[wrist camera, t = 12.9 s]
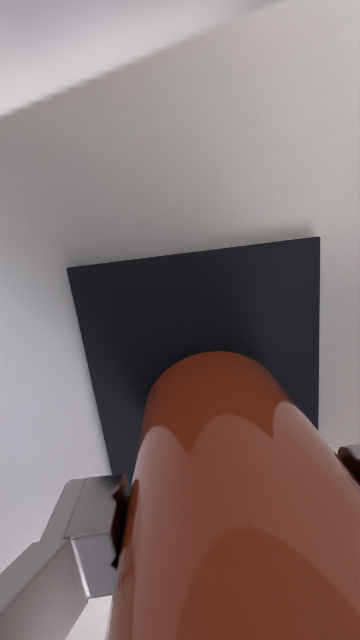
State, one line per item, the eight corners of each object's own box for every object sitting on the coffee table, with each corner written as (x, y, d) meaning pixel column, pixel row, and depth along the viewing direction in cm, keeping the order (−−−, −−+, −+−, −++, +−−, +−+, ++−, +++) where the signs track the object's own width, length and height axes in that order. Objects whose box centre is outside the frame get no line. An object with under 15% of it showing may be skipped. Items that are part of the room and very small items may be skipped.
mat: (70, 267, 11) (65, 267, 11) (314, 236, 11) (320, 236, 11) (121, 501, 14) (119, 510, 14) (313, 477, 14) (318, 485, 14)
